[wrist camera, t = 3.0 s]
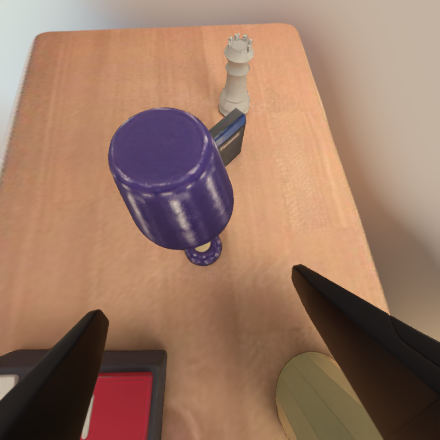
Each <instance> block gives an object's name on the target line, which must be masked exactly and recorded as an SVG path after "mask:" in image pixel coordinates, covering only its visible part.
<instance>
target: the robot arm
mask: <svg viewBox="0 0 440 440" xmlns="http://www.w3.org/2000/svg"><path fill="white" fill-rule="evenodd" d="M292 282H293V284H294V287H295V289H296V291H297V293H298V295H299V297H300V299H301V301H302V303H303V306H304V308H305V310H306V312H307V314H308V315H309V317H310V319H311V320H312V322H313V324H314V325H315V327H316V329H317V330H318V332H319V334H320V335H321V337H322V339H323V340H324V342H325V344H326V345H327V347H328V349H329V350H330V352H331V354H332V355H333V357H334V359H335V360H336V362H337V364H338V365H339V367H340V369H341V370H342V372H343V374H344V375H345V377H346V379H347V380H348V382H349V384H350V385H351V387H352V389H353V390H354V392H355V393H356V395H357V397H358V398H359V400H360V402H361V403H362V405H363V407H364V408H365V410H366V412H367V413H368V415H369V417H370V418H371V420H372V422H373V423H374V425H375V427H376V428H377V430H378V432H379V433H380V435H381V437H382V438H383V440H440V342H438V341H437V340H435V339H433V338H431V337H429V336H427V335H425V334H423V333H421V332H420V331H418V330H416V329H414V328H412V327H411V326H409V325H407V324H405V323H403V322H402V321H400V320H398V319H396V318H395V317H393V316H391V315H390V316H389V314H388V313H386V312H384V311H382V310H381V309H379V308H377V307H375V306H374V305H372V304H370V303H368V302H367V301H365V300H363V299H361V298H360V297H358V296H356V295H354V294H353V293H351V292H349V291H348V290H346V289H344V288H342V287H341V286H339V285H337V284H335V283H334V282H332V281H330V280H328V279H327V278H325V277H323V276H321V275H320V274H318V273H316V272H314V271H313V270H311V269H309V268H307V267H306V266H304V265H302V264H299V265H294V266H293V267H292ZM108 327H109V321H108V319H107V317H106V316H105V315H104V313H103V312H102V311H101V310H99V309H98V310H93V311H90V312H88V313H87V314H86V315H85V316H84V317H83V318H82V319H81V320H80V321H79V322H78V323H77V324H76V325H75V326H74V327H73V328H72V329H71V330H70V331H69V332H68V333H67V334H66V335H65V336H64V337H63V338H62V339H61V340H60V341H59V342H58V343H57V344H56V345H55V346H54V347H53V348H52V349H51V350H50V351H49V352H48V353H47V354H46V355H45V356H44V357H43V358H42V359H41V360H40V361H39V362H38V363H37V364H36V365H35V366H34V367H33V368H32V369H31V370H30V371H29V372H28V373H27V374H26V375H25V376H24V377H23V378H22V379H21V380H20V381H19V382H18V383H17V384H16V385H15V386H14V387H13V388H12V389H11V390H10V391H9V392H8V393H7V394H6V395H5V396H4V397H3V398H2V399H1V400H0V440H80V438H81V434H82V431H83V427H84V424H85V420H86V417H87V413H88V410H89V406H90V403H91V399H92V396H93V392H94V389H95V385H96V382H97V378H98V374H99V371H100V367H101V363H102V359H103V354H104V348H105V343H106V338H107V332H108Z"/></svg>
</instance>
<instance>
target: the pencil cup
mask: <svg viewBox="0 0 440 440" xmlns="http://www.w3.org/2000/svg"><path fill="white" fill-rule="evenodd" d="M276 407H277V412H278V416H279V419H280V422H281V424H282V426H283V429H284V431H285V434H286V436H287V438H288V440H383V438H382V437H381V435H380V433H379V432H378V430H377V428H376V427H375V425H374V423H373V422H372V420H371V418H370V417H369V415H368V413H367V412H366V410H365V408H364V407H363V405H362V403H361V402H360V400H359V398H358V397H357V395H356V393H355V392H354V390H353V389H352V387H351V385H350V384H349V382H348V380H347V379H346V377H345V375H344V374H343V372H342V370H341V369H340V367H339V365H338V364H337V362H336V360H334V359H333V358H331V357H329V356H327V355H325V354H322V353H318V352H305V353H302V354H299V355H297V356H295V357H293V358H292V359H291V360H290V361H289V362H288V363H287V364H286V365H285V366H284V368H283V369H282V371H281V373H280V375H279V378H278V381H277V386H276Z"/></svg>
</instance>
